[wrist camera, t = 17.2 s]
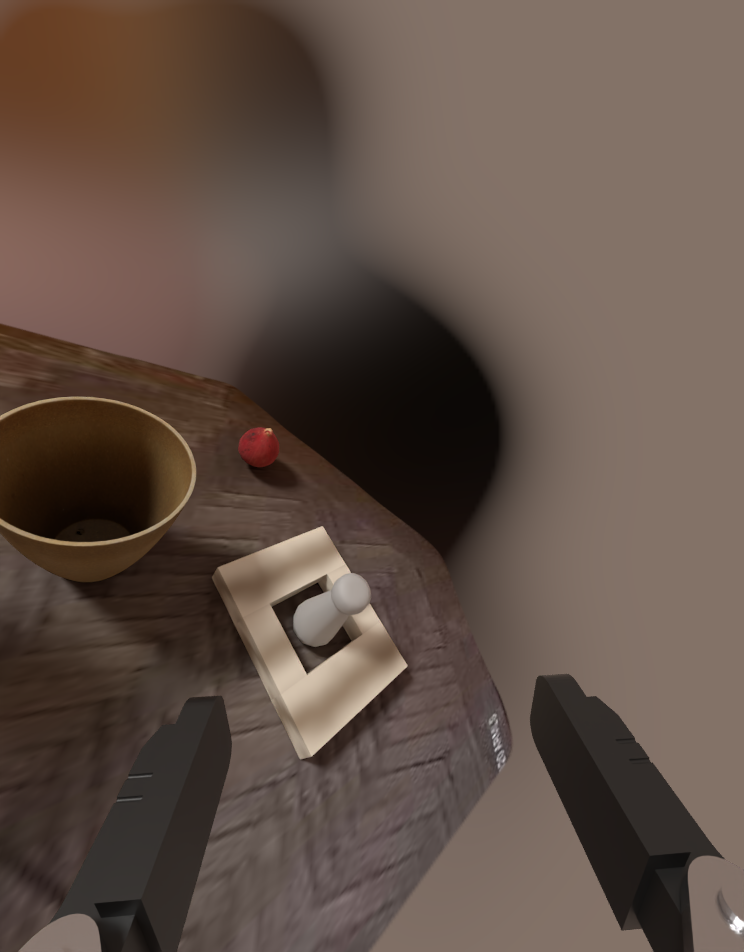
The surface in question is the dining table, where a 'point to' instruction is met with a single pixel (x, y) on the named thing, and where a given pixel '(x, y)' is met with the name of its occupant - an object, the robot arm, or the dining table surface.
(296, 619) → the salt shaker
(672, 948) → the robot arm
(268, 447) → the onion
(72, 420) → the plant pot
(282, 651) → the hole board
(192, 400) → the dining table surface
